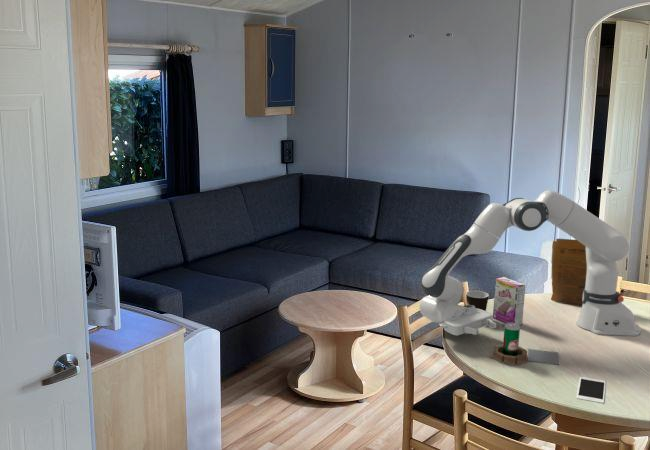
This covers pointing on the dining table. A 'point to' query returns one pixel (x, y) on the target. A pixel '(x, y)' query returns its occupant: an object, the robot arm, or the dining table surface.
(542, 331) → the dining table surface
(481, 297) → the coffee mug
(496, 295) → the candy bar box
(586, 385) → the cell phone
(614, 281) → the robot arm
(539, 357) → the coaster
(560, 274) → the pancake mix bag
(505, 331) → the soda can
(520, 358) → the walnut ring
